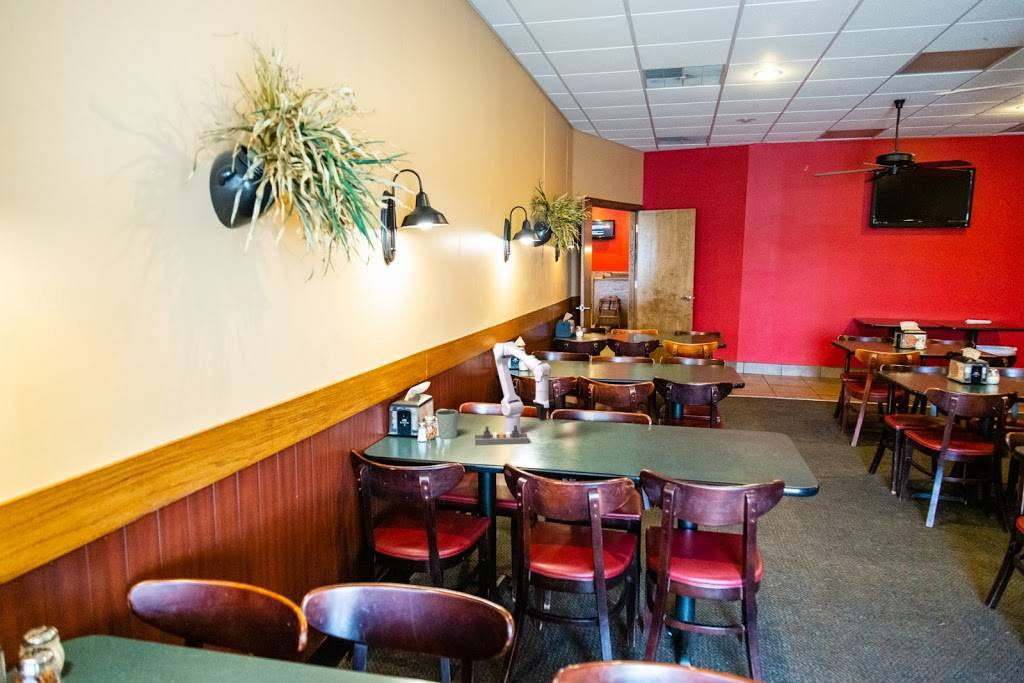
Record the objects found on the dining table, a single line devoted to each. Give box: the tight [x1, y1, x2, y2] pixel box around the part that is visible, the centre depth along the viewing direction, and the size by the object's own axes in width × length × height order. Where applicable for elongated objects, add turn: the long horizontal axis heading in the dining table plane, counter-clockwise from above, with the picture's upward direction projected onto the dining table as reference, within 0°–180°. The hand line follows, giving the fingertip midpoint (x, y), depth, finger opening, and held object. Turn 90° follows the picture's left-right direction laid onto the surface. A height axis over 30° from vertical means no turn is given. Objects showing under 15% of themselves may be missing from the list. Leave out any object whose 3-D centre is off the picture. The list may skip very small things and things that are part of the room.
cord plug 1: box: [483, 425, 492, 438], centre depth 280 cm, size 3×3×5 cm
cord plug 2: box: [512, 425, 519, 437], centre depth 281 cm, size 3×3×5 cm
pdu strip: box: [474, 433, 529, 446], centre depth 281 cm, size 7×24×3 cm, turn 95°
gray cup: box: [435, 409, 459, 440], centre depth 290 cm, size 10×10×12 cm
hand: (541, 419), depth 280 cm, fingers closed
